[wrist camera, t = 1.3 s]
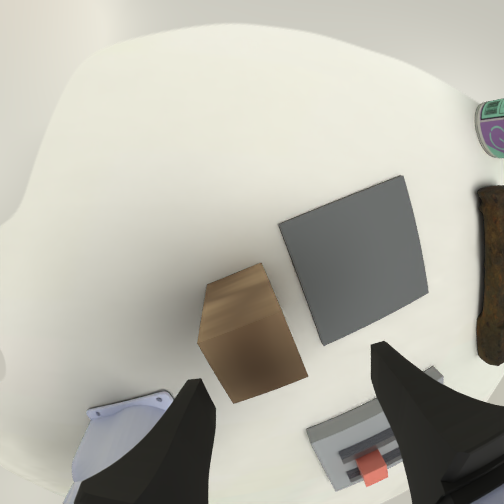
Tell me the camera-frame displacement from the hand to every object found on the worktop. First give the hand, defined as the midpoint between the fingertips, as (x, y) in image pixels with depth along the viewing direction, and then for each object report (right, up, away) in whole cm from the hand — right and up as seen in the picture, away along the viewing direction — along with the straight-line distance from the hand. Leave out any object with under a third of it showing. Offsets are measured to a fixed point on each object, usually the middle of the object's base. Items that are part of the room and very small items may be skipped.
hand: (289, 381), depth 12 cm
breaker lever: (+10, -15, +12) cm, 22 cm away
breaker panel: (+12, -14, +14) cm, 24 cm away
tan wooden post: (-2, +2, +9) cm, 10 cm away
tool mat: (+7, +5, +10) cm, 12 cm away
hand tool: (+22, +3, +12) cm, 25 cm away
